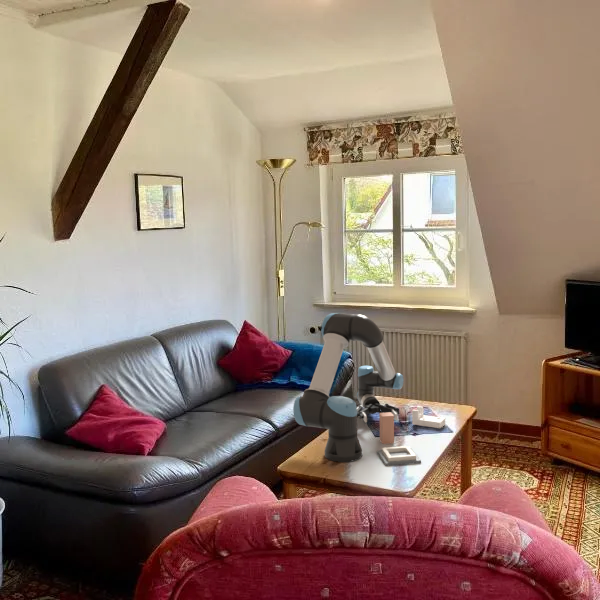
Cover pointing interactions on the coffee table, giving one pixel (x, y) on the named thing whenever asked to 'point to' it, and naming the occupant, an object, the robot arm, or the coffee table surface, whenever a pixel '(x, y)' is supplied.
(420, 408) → the bracket
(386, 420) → the block
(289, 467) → the coffee table surface
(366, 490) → the coffee table surface
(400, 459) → the seat frame
